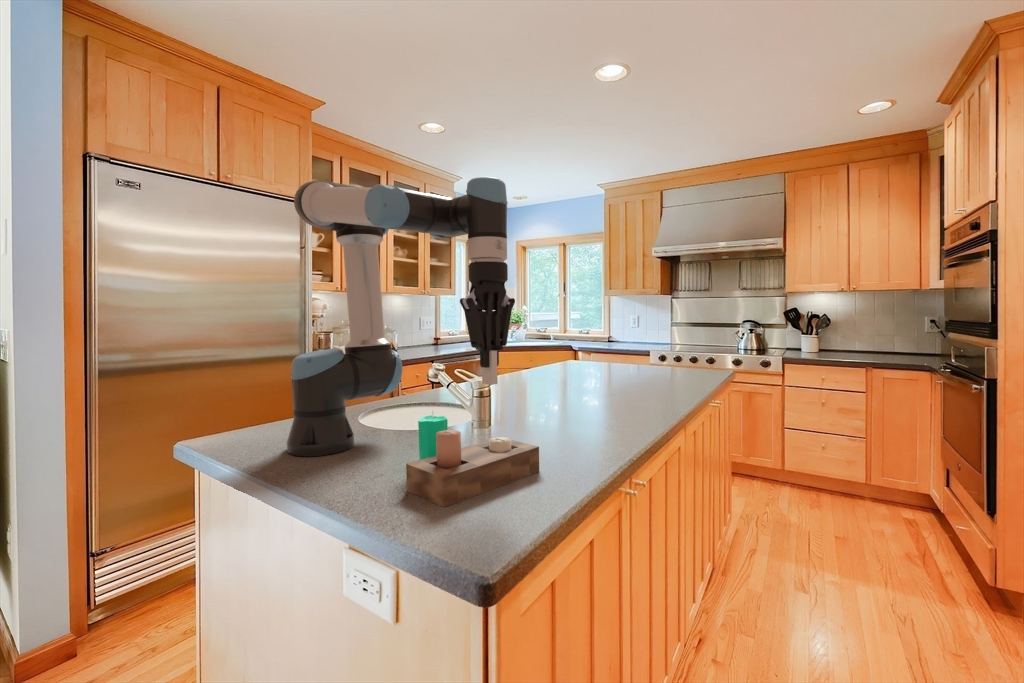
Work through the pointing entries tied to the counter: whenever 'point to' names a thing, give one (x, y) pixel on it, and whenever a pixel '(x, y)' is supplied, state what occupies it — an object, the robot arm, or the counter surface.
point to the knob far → (500, 444)
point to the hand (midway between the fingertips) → (489, 383)
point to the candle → (430, 434)
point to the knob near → (448, 448)
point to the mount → (471, 472)
